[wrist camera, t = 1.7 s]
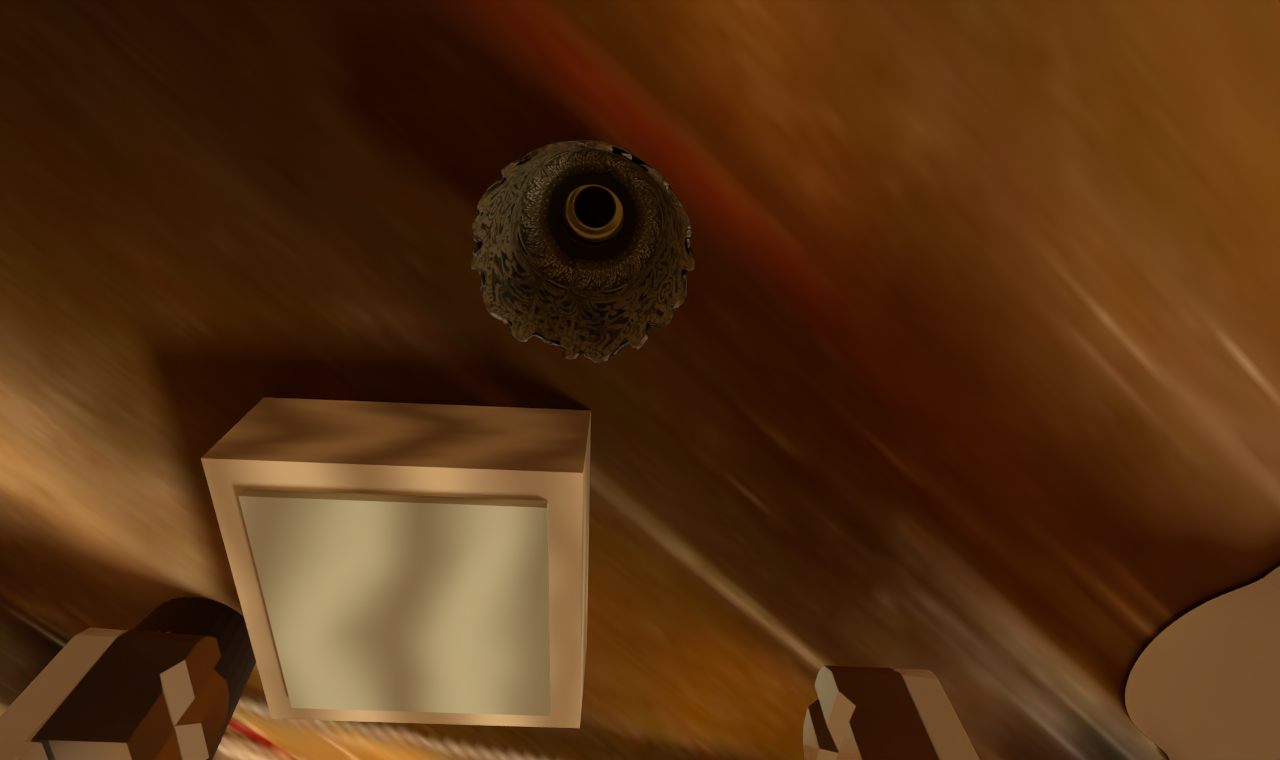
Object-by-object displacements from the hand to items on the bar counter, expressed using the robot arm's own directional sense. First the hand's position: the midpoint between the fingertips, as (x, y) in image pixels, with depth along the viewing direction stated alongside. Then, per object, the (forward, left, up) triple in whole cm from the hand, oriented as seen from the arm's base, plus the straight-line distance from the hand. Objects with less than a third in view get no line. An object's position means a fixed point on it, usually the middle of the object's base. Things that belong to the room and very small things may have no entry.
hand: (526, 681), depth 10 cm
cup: (0, -1, -24) cm, 24 cm away
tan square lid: (+8, +17, -24) cm, 30 cm away
